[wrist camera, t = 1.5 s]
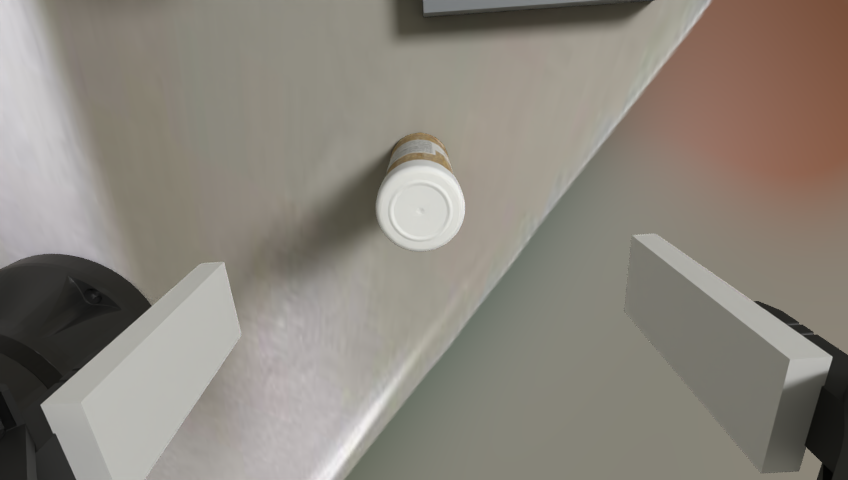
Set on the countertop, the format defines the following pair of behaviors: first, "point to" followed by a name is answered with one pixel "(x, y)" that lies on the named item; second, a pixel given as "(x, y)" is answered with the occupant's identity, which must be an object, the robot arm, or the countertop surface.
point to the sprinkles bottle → (420, 195)
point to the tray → (501, 5)
